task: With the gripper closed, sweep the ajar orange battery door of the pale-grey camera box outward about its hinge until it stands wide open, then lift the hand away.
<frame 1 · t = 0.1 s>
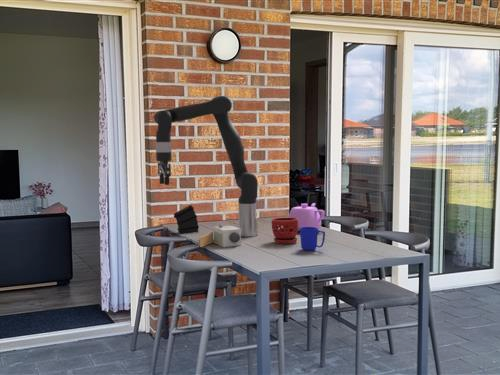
hand: (164, 184, 283), 29 cm above the table, tool pointing down, fingers open, 8 cm apart
mug: (312, 250, 264), on the table
magazine: (186, 232, 316), on the table
camera body: (227, 243, 281), on the table
teapot: (304, 230, 320), on the table
plant pot: (284, 242, 284), on the table
side door: (206, 239, 279), point 3 cm above the table, hinge at 45.0°
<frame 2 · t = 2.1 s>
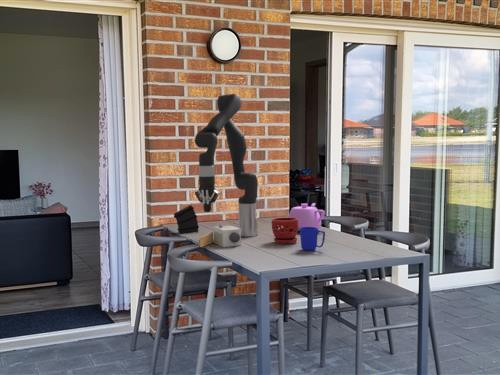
hand: (207, 211, 271), 17 cm above the table, tool pointing down, fingers closed
nothing on the table moved.
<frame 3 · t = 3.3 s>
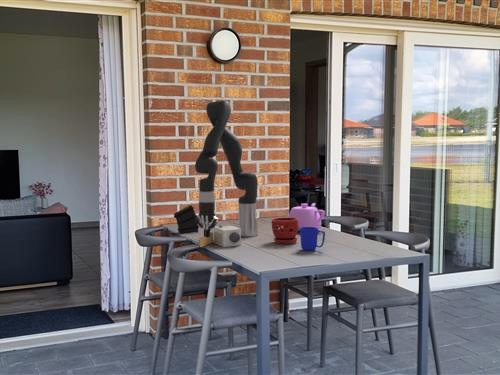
hand: (207, 237, 272), 5 cm above the table, tool pointing down, fingers closed
nothing on the table moved.
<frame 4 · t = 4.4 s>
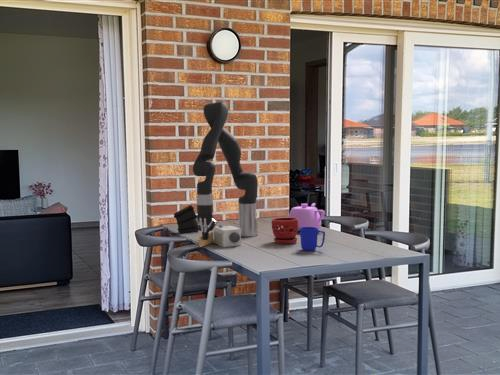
hand: (205, 239, 273), 4 cm above the table, tool pointing down, fingers closed
side door: (205, 239, 279), point 3 cm above the table, hinge at 46.4°, touching gripper
everything else where it was.
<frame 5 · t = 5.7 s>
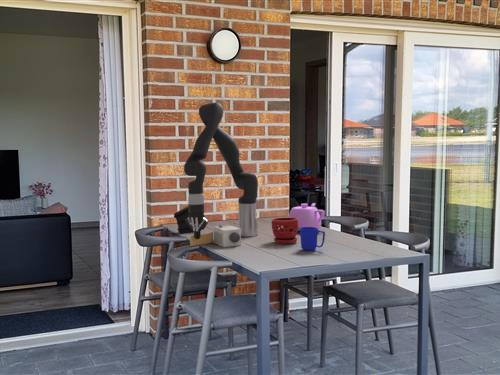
hand: (197, 238, 276), 4 cm above the table, tool pointing down, fingers closed
side door: (201, 239, 280), point 3 cm above the table, hinge at 71.4°, touching gripper
everything else where it was.
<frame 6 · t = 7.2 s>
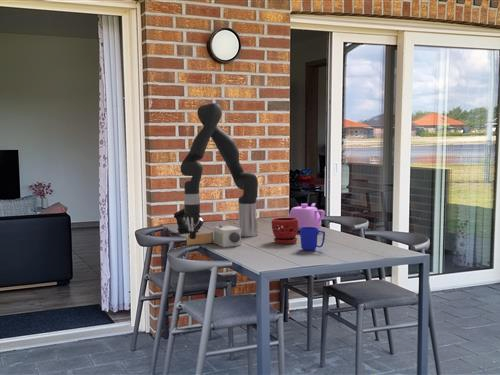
hand: (192, 238, 276), 4 cm above the table, tool pointing down, fingers closed
side door: (200, 238, 282), point 3 cm above the table, hinge at 85.2°
everything else where it was.
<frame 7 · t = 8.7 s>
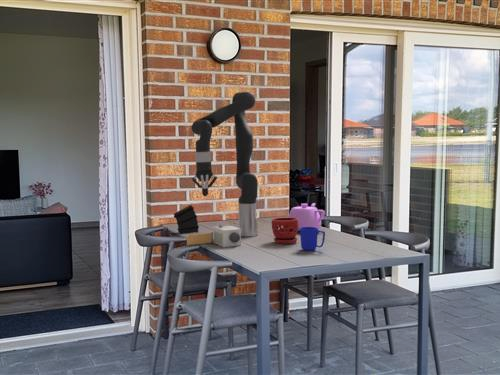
hand: (205, 195, 284), 23 cm above the table, tool pointing down, fingers closed
nothing on the table moved.
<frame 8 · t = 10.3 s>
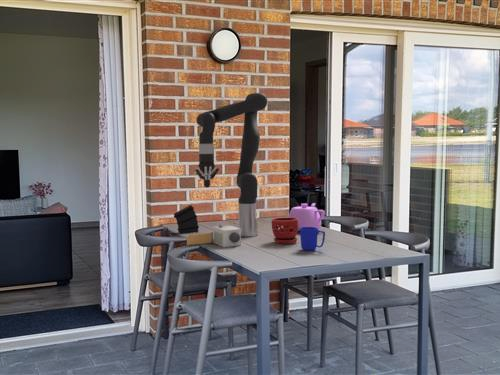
hand: (206, 187, 289), 27 cm above the table, tool pointing down, fingers closed
nothing on the table moved.
at the end: side door at +85° (first picture: +45°); side door touching nothing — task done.
